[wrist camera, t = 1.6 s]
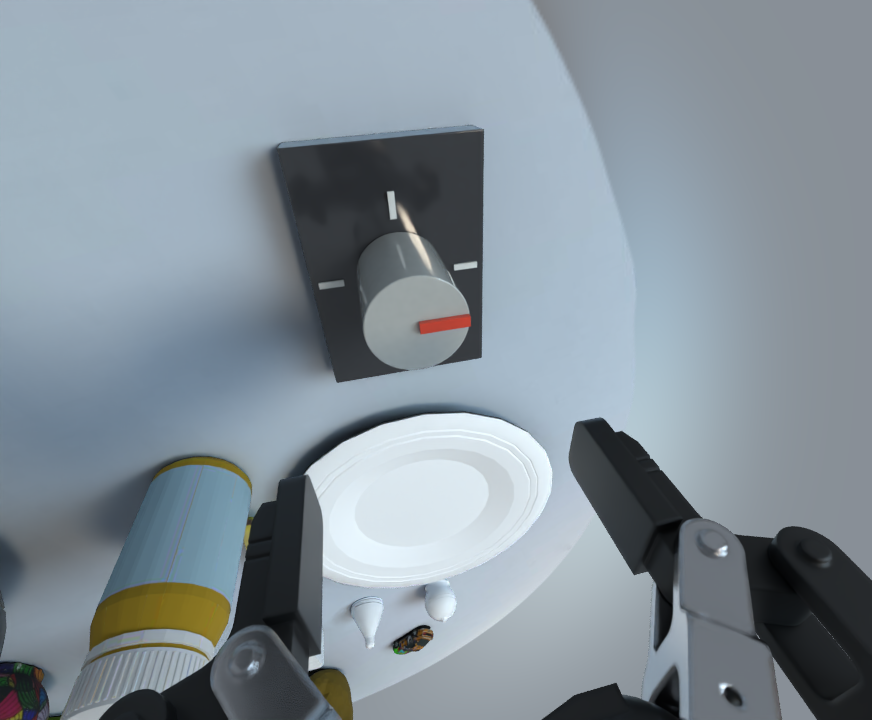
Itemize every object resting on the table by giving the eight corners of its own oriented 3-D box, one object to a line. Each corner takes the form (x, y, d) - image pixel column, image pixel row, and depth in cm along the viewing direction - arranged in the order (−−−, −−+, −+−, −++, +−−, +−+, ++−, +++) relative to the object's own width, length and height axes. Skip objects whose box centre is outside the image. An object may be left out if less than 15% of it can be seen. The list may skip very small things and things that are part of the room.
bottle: (147, 451, 30) (24, 711, 18) (253, 451, 32) (206, 685, 20) (159, 512, 33) (64, 762, 21) (253, 509, 35) (214, 735, 23)
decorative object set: (279, 620, 47) (275, 666, 43) (451, 574, 49) (460, 614, 45) (292, 636, 49) (289, 681, 46) (454, 592, 51) (463, 631, 48)
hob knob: (363, 318, 25) (372, 382, 20) (348, 237, 22) (354, 287, 17) (444, 306, 26) (472, 364, 21) (440, 226, 23) (471, 270, 18)
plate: (309, 591, 44) (308, 610, 43) (251, 422, 30) (247, 441, 29) (527, 547, 49) (533, 562, 47) (567, 380, 34) (578, 395, 33)
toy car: (388, 644, 56) (390, 659, 55) (421, 623, 55) (423, 638, 53) (402, 647, 57) (404, 662, 56) (434, 627, 56) (437, 642, 55)
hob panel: (280, 142, 21) (276, 149, 19) (473, 124, 22) (485, 129, 20) (336, 365, 29) (336, 384, 27) (473, 342, 30) (482, 359, 28)
